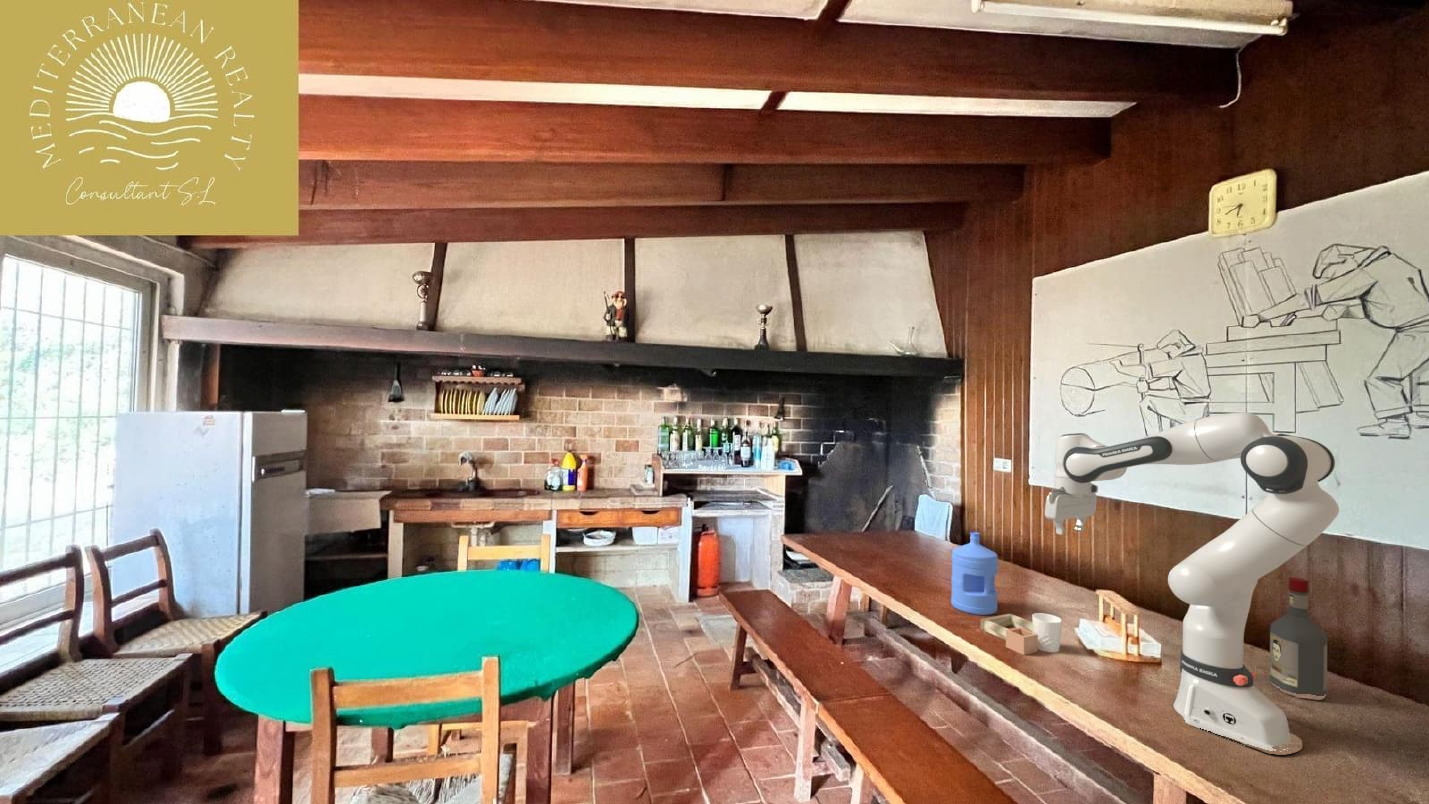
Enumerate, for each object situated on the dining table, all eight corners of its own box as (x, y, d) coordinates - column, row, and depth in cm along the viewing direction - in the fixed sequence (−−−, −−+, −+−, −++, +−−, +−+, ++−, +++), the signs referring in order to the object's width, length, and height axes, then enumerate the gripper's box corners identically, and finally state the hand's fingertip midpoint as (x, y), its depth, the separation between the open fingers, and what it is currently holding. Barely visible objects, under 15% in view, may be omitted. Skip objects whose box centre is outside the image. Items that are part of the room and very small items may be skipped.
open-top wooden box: (1037, 654, 170) (1037, 634, 170) (1023, 657, 167) (1023, 637, 167) (1019, 646, 175) (1019, 627, 175) (1005, 649, 173) (1005, 629, 173)
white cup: (1053, 645, 176) (1053, 613, 176) (1066, 656, 169) (1067, 623, 169) (1027, 644, 177) (1027, 612, 177) (1039, 655, 169) (1039, 621, 169)
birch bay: (1044, 639, 181) (1045, 627, 181) (1014, 646, 175) (1014, 633, 175) (1009, 625, 192) (1010, 613, 192) (980, 631, 187) (980, 619, 187)
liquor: (1306, 686, 152) (1307, 576, 153) (1332, 703, 144) (1333, 586, 144) (1264, 681, 155) (1265, 572, 155) (1288, 697, 146) (1289, 582, 146)
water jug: (941, 602, 214) (942, 529, 214) (975, 599, 218) (976, 527, 218) (972, 617, 199) (973, 538, 199) (1007, 613, 203) (1008, 536, 204)
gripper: (1061, 490, 161) (1059, 538, 161) (1101, 486, 170) (1099, 531, 171) (1039, 487, 167) (1038, 533, 167) (1079, 483, 176) (1078, 527, 176)
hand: (1069, 532), depth 169 cm, fingers open, 8 cm apart
